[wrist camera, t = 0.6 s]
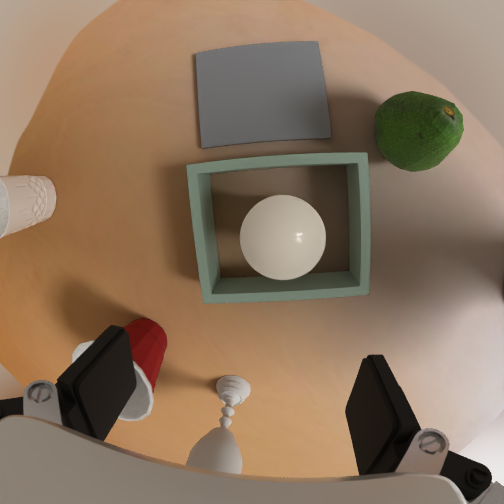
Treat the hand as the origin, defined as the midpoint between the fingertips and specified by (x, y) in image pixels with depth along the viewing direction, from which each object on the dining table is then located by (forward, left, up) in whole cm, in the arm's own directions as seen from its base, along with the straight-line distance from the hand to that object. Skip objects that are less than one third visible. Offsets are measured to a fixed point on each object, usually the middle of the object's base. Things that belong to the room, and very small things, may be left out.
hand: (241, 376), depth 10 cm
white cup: (+32, -9, -23) cm, 41 cm away
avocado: (-15, -11, -23) cm, 30 cm away
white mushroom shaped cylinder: (-2, -2, -23) cm, 23 cm away
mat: (-1, -17, -23) cm, 29 cm away
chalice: (+6, +21, -23) cm, 32 cm away
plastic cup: (+17, +12, -23) cm, 31 cm away
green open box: (-2, -2, -23) cm, 23 cm away
